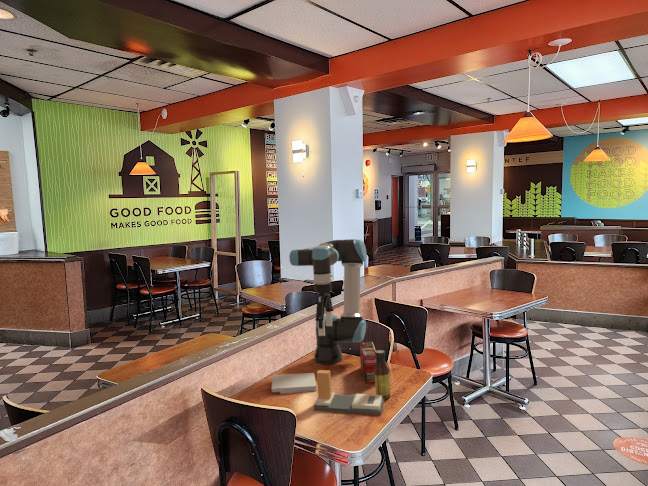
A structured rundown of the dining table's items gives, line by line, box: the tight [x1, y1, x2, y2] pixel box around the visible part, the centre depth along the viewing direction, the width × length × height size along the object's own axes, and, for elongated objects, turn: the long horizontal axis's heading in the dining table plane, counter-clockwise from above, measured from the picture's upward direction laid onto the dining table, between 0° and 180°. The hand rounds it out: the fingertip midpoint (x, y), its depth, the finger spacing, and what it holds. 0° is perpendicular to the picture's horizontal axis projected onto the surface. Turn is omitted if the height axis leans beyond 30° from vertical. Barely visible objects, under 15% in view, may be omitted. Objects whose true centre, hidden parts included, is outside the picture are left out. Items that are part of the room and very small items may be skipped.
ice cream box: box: [359, 341, 377, 385], centre depth 207 cm, size 20×6×13 cm, turn 1°
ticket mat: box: [313, 393, 385, 416], centre depth 177 cm, size 12×27×3 cm, turn 76°
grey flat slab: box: [271, 372, 317, 395], centre depth 200 cm, size 15×3×20 cm
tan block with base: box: [314, 369, 336, 406], centre depth 179 cm, size 10×6×12 cm, turn 166°
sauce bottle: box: [374, 349, 392, 400], centre depth 183 cm, size 6×6×20 cm
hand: (325, 330), depth 188 cm, fingers open, 13 cm apart
